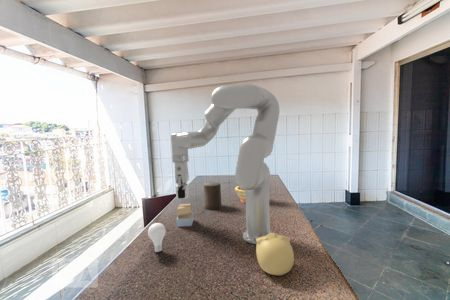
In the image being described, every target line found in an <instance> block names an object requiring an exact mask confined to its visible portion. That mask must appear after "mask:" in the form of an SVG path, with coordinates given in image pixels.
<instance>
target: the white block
mask: <svg viewBox="0 0 450 300" xmlns="http://www.w3.org/2000/svg"><path fill="white" fill-rule="evenodd" d="M181 185H182V184H181ZM184 189H185V198H178V184H177V183H176V185H175V195H176V196H175V197H176V198H175V199H176V200H186V199H188V198H189V194H190V193H189V183H186V184H184Z"/></svg>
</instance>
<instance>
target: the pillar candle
mask: <svg viewBox="0 0 450 300" xmlns="http://www.w3.org/2000/svg"><path fill="white" fill-rule="evenodd" d="M221 191H222V189H221V182H219V181H210V182H205V183H203V193H204V194H203V197H204V209H207V210H212V211H213V210H219V209H220V208H222V192H221Z"/></svg>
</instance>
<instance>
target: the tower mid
mask: <svg viewBox="0 0 450 300" xmlns="http://www.w3.org/2000/svg"><path fill="white" fill-rule="evenodd" d="M192 211H193V210H192V203H182V204H178V206H177V217H178V219H184V218H191V215H192V213H193V212H192Z"/></svg>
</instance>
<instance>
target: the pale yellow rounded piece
mask: <svg viewBox="0 0 450 300" xmlns="http://www.w3.org/2000/svg"><path fill="white" fill-rule="evenodd" d="M256 242H257V244H255V246H256V248H255V253H256V259H257V263H258V265H259V267H260V268H261V270H263V272H265V273H267V274H268V275H273V276H283V275H286V274H287V273H289V272H290V271H291V269H292V268H293V266H294V263H295V254H294V249H293V247H292V244H291V237H289V236H286V235H281V234H279V233H278V234H277V233H275V232H273V233H270V234H268V235H267V236H263V237H259V238H257V239H256Z"/></svg>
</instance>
